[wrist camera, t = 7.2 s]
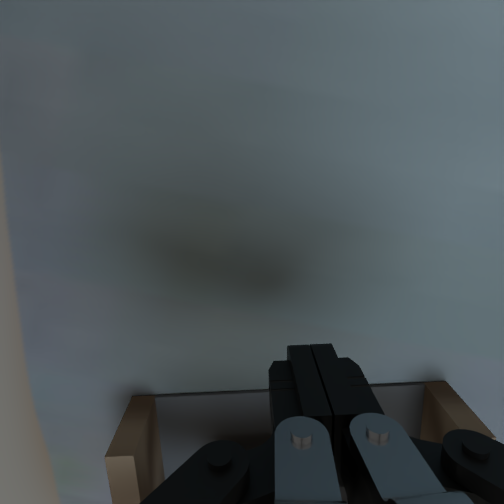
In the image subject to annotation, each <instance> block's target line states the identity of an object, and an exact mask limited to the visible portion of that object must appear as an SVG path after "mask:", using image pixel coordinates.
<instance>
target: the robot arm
mask: <svg viewBox="0 0 504 504" xmlns="http://www.w3.org/2000/svg"><path fill="white" fill-rule="evenodd" d="M269 401H270V416H271V426H272V435H271V437H270V438H269V439H268V440H267V441H266V442H265V443H264V444H262V445H260V446H258V447H256V448H253V449H250V450H247V451H246V450H245V448H244V447H243V446H241V445H240V444H238V443H236V442H234V441H230V440H217V441H213V442H210V443H208V444H206V445H204V446H202V447H201V448H200V449H199V450H198V451H196V452H195V453H194V454H193V455H192V456H191V457H190V458H189V459H188V460H187V461H185V462H184V463H183V464H182V465H181V466H180V467H179V468H178V469H177V470H176V471H174V472H173V473H172V474H171V475H170V476H169V477H168V478H167V479H166V480H165V481H163V482H162V483H161V484H160V485H159V486H158V487H157V488H156V489H155V490H154V491H153V492H151V493H150V494H149V495H148V496H147V497H146V498H145V499H144V500H143V501H142V502H140V503H139V504H504V444H502V443H500V442H498V441H496V440H494V439H492V438H490V437H488V436H486V435H484V434H482V433H479V432H476V431H472V430H467V429H455V430H451V431H449V432H448V433H446V434H445V436H444V437H443V442H442V444H441V443H436V442H431V441H426V440H421V439H417V438H413V437H410V436H408V434H407V433H406V431H405V430H404V429H403V427H402V426H401V425H400V424H399V423H398V422H397V421H395V420H394V419H392V418H390V417H388V416H386V415H385V414H384V412H383V410H382V408H381V406H380V404H379V402H378V401H377V399H376V397H375V395H374V393H373V391H372V389H371V387H369V384H368V382H367V380H366V378H365V377H364V374H363V372H362V370H361V368H360V367H359V365H357V364H356V363H355V362H354V361H352V360H351V359H350V358H338V357H337V354H336V352H335V350H334V348H333V346H332V344H310V345H290V346H287V360H286V361H273V363H272V365H271V367H270V369H269ZM339 487H344V488H345V491H346V495H347V502H346V501H342V498H341V493H340V488H339Z"/></svg>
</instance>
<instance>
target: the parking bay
mask: <svg viewBox="0 0 504 504" xmlns="http://www.w3.org/2000/svg"><path fill="white" fill-rule="evenodd" d="M369 387H371V389H372V391H373V393H374V395H375V397H376V399H377V401H378V402H379V404H380V406H381V408H382V410H383V412H384V414H385V415H386V416H388V417H390V418H392V419H394V420H395V421H397V422H398V423H399V424H400V425H401V426H402V427H403V429H404V430H405V431H406V433H407V434H408V436H410V437H413V438H417V439H421V440H426V441H431V442H436V443H441V444H442V442H443V437H444V436H445V434H446V433H448V432H449V431H451V430H455V429H467V430H472V431H476V432H479V433H482V434H484V435H486V436H488V437H490V438H492V439H494V440H496V437H495V436H494V435H493V434H492V433H491V431H490V430H489V429H488V428H487V427H486V426H485V425H484V423H483V422H482V421H481V420H480V419H479V418H478V417H477V416H476V414H475V413H474V412H473V411H472V410H471V409H470V408H469V407H468V405H467V404H466V403H465V402H464V401H463V400H462V399H461V398H460V396H459V395H458V394H457V393H456V392H455V391H454V390H453V388H452V387H451V386H450V385H449V384H448V383H447V382H446V381H441V382H420V383H399V384H378V385H369ZM271 435H272V426H271V416H270V401H269V390H253V391H232V392H211V393H190V394H170V395H149V396H132V399H131V401H130V403H129V405H128V407H127V409H126V412H125V414H124V416H123V418H122V420H121V422H120V425H119V427H118V429H117V431H116V433H115V436H114V438H113V440H112V442H111V444H110V446H109V449H108V451H107V453H106V455H105V462H106V468H107V474H108V479H109V485H110V491H111V497H112V503H113V504H139V503H140V502H142V501H143V500H144V499H145V498H146V497H147V496H148V495H149V494H150V493H151V492H153V491H154V490H155V489H156V488H157V487H158V486H159V485H160V484H161V483H162V482H163V481H165V480H166V479H167V478H168V477H169V476H170V475H171V474H172V473H173V472H174V471H176V470H177V469H178V468H179V467H180V466H181V465H182V464H183V463H184V462H185V461H187V460H188V459H189V458H190V457H191V456H192V455H193V454H194V453H195V452H196V451H198V450H199V449H200V448H201V447H202V446H204V445H206V444H208V443H210V442H213V441H217V440H230V441H234V442H236V443H238V444H240V445H241V446H243V447H244V448H245V450H246V451H247V450H250V449H253V448H256V447H258V446H260V445H262V444H264V443H265V442H266V441H267V440H268V439H269V438H270V437H271Z"/></svg>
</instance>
